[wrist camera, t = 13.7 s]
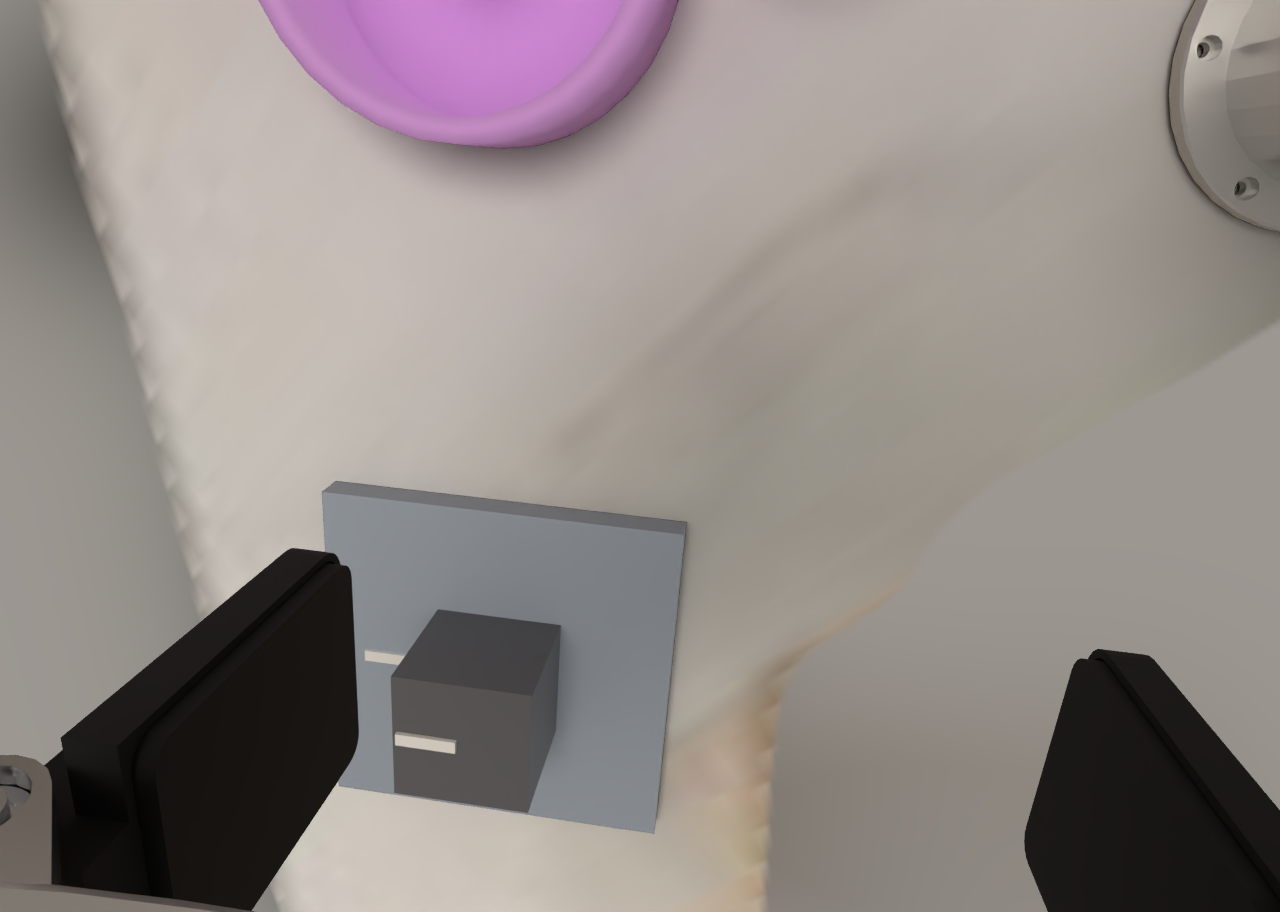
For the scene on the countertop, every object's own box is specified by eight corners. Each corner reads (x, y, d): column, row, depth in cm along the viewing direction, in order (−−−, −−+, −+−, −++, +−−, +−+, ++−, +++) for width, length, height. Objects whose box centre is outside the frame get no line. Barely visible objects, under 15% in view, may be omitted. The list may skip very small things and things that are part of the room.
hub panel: (686, 522, 41) (677, 573, 36) (657, 813, 47) (645, 893, 42) (335, 481, 42) (278, 524, 37) (350, 768, 48) (303, 839, 43)
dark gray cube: (560, 625, 42) (531, 698, 36) (555, 730, 44) (526, 816, 38) (438, 609, 42) (388, 679, 36) (438, 714, 44) (392, 796, 39)
